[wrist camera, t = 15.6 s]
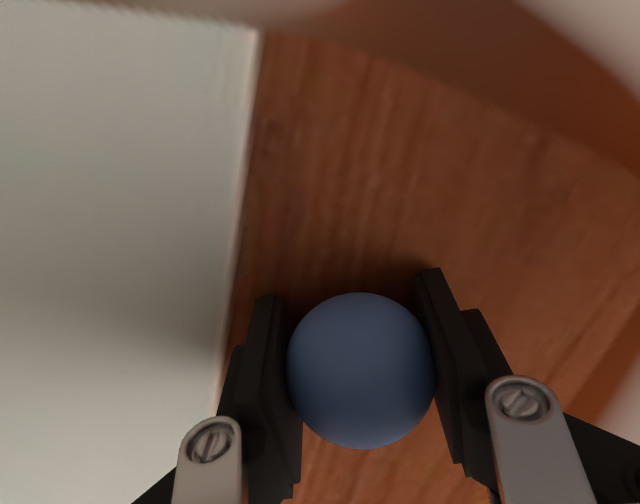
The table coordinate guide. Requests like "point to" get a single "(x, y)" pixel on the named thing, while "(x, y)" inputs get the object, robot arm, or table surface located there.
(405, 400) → the smooth blue ball
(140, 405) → the table surface
